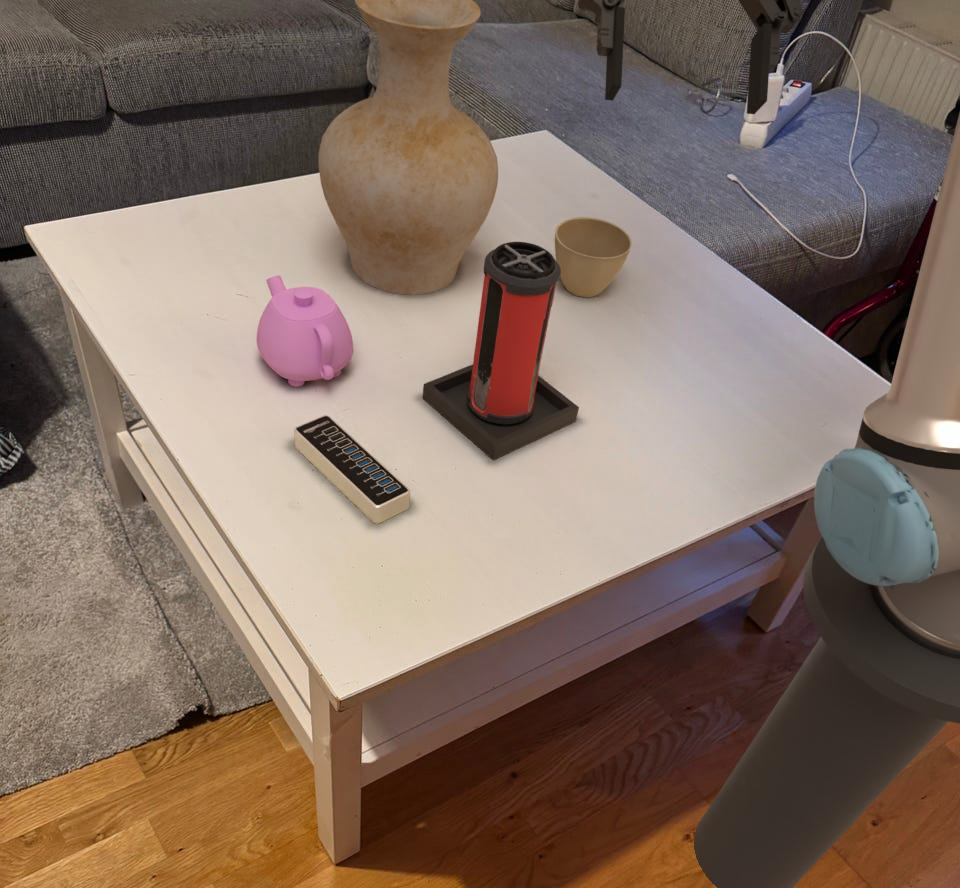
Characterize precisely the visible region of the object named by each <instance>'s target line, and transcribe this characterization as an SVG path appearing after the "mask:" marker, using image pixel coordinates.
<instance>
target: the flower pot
mask: <svg viewBox="0 0 960 888" xmlns="http://www.w3.org/2000/svg"><path fill="white" fill-rule="evenodd" d="M554 230H555V231H554V253H555V260H556V261H557V263H558V264H559V266H560V268H561V275H560V279H561V282H562V284H563V286H564V288H565V290H566V291H567V292H569V293H571V294H572V295H574V296H576V297H580V298H593V297H596V296H599V295H600V294H601V293H602V292H603V291H604V290H605V289H606V288H607V287H608V286H609V285H610V284H611V283H612V282H613V280H614V279H616V277H617V275H618V274H619V272H620V271H621V269H622V268H623V266H624V264H625V262H626V261H627V258H628V256H629V254H630V252H631V248H632V244H633V242H632V238H631V237H630V235H629V234H628V233H627V232H626V231H625V230H624V229H623V228H622V227H620V226H618V225H617V224H616V223H612V222H610V221H607V220H605V219H601V218H596V217H589V216H577V217H571V218H567V219H565V220H563V221H561V222H560V223H559V224H558V225H557V226H556V228H555V229H554Z"/></svg>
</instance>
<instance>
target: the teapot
mask: <svg viewBox="0 0 960 888" xmlns="http://www.w3.org/2000/svg"><path fill="white" fill-rule="evenodd" d="M265 282H266V284H267V287H268V290H269V293H270V295H271V298H270V300H269V301H268V302H267V304H266V306H265V308H264V310H263V311H262V313H261V315H260V318H259V322H258V325H257V330H256V347H257V351H258V352H259V355H260V357H261V358H262V359H263V361H264V362H265V363H266V365H268V366H269V367H270V369H272V370H273V371H274V372H275V373H276V374H277V375H279V377H282V378H284V379H287V383H288V384H289V385H290V386H292V387H302V386H304V384H305V383H306V382H308V381H317V380H322V379H323V380H326V381H329V380H332V379H333V378H336V377H339V376H341V374H342V371H341V370H342V369H344V368H345V367H346V366H347V364H348V363H349V362H350V361H351V360H352V358H353V355H354V339H353V336H352V331H351V329H350V326H349V324H348V322H347V320H346V319H347V318H346V317H345V316H344V313H342V311H341V309H340V307H339V306H338V304H337V302H336V301H335V299H333V297H332V296H331V295H330V294H329V293H328V292H326V291H325V290H323V289H321V288H318V287H314V286H296V287H291V288H287V289H286V286H285V283H284V280H283V278H282V276H281V275H280V274H279V275H274V276H271V277H269V278H267V279H266V280H265Z"/></svg>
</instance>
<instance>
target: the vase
mask: <svg viewBox="0 0 960 888" xmlns="http://www.w3.org/2000/svg"><path fill="white" fill-rule="evenodd" d="M354 2H355V5H356V7H357V10H358V11H359V13H360V15H361V18H362V20H363V21H364V23H365V24H366V25H367V26H368V27H370V29H372V30H373V31H374V32H375V34H376V38H377V42H378V50H379V70H378V71H379V72H378V80H377V84H376V89H375V92H374V94H373V96H370V97H367V98H364V99H363V100H360V101H358V102H355V103H354V104H351V106H349V107H348V108H346V109H344V110H343V111H342V112H341V113H340V114H338V115H337V116H336V117H335V118H334V119H333V120H332V121H331V122H330V124H329V125H328V127H327V128H326V130H325V132H324V133H323V134H322V137H321V141H320V144H319V150H318V154H317V155H318V172H319V179H320V185H321V189H322V193H323V196H324V199H325V201H326V204H327V206H328V210H329V212H330V214H331V216H332V217H333V220H334V222H335V224H336V226H337V228H338V230H339V232H340V234H341V237H342V238H343V241H344V243H345V244H346V248H347V249H348V252H349V258H350V264H351V268H352V271H353V272H354V274H355V275H356V276H357V278H359V279H360V280H361V281H362V282H364V283H365V284H367V285H368V286H371V287H373V288H376V289H378V290H381V291H384V292H387V293H392V294H396V295H406V296H414V295H416V296H417V295H427V294H430V293H434V292H437V291H440V290H442V289H444V288H446V287H448V286H449V285H450V284H451V283H452V282H453V281H454V279H455V277H456V274H457V271H458V267H459V264H460V262H461V260H462V258H463V256H464V254H465V253H466V251H467V250H468V248H469V247H470V245H471V244H472V242H473V240H474V239H475V237H476V236H477V234H478V233H479V231H480V229H481V228H482V226H483V224H484V223H485V221H486V220H487V217H488V215H489V213H490V210H491V208H492V205H493V202H494V200H495V196H496V193H497V189H498V184H499V163H498V156H497V153H496V151H495V149H494V146H493V143H492V142H491V140H490V138H489V137H488V135H486V133H485V132H484V130H483V129H482V128H481V127H480V126H479V124H478V123H477V122H475V120H473V118H471V117H469V115H468V114H466V113H464V112H463V111H461V110H460V109H459V108H457V107H456V106H454V105H452V101H451V96H450V66H451V59H452V56H453V52H454V49H455V46H456V44H457V42H459V41H460V40H462V39H464V38H465V37H467V36H468V35H469V34H470V33H471V31H472V29H473V28H474V26H475V25H476V23H477V22H478V20H479V19H480V17H481V13H482V10H481V8H480V6H479V5H478V4H477V2H475V1H474V0H354Z"/></svg>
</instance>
